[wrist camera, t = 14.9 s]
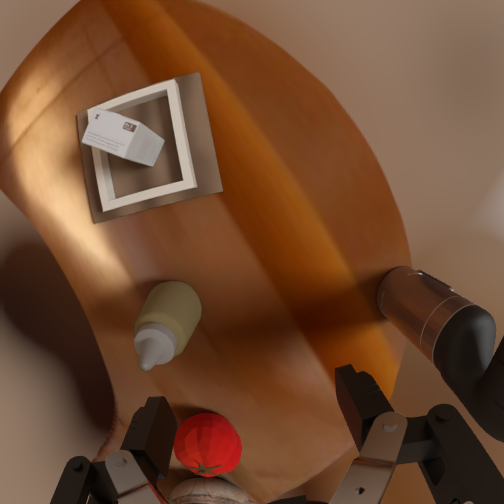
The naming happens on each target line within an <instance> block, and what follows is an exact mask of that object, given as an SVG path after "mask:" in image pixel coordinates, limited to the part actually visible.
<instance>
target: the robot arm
mask: <svg viewBox="0 0 504 504" xmlns="http://www.w3.org/2000/svg"><path fill="white" fill-rule="evenodd" d="M376 301H377V306H378V309H379V310H380V312H381V313H382V314H383V315H384V316H385V317H386V318H387V319H388V320H389V321H390V322H391V323H392V324H393V325H394V326H395V327H396V328H397V329H398V330H399V331H400V332H401V333H402V334H403V335H404V336H405V337H406V338H407V339H409V341H410V342H411V343H412V344H413V345H414V346H415V347H416V348H417V349H418V350H419V351H420V352H421V353H422V354H423V355H424V356H425V357H426V358H427V359H428V360H429V361H430V362H431V363H432V364H433V365H434V366H435V367H436V368H437V369H438V370H439V371H440V373H441V376H442V378H443V380H444V381H445V382H446V383H447V385H448V386H449V387H450V389H451V390H452V391H453V392H454V393H455V395H456V396H457V397H458V399H459V400H460V401H461V402H462V404H463V405H464V406H465V408H466V409H467V410H468V412H469V413H470V415H471V416H472V417H473V418H474V419H475V421H476V422H477V423H478V424H479V426H480V427H482V429H483V430H484V431H485V432H486V433H488V434H489V435H490V436H492V437H493V438H495V439H496V440H498V441H501V442H504V336H503V338H502V340H501V342H500V344H499V346H498V348H497V350H496V352H495V354H494V356H493V350H494V344H495V338H496V325H495V321H494V319H493V317H492V316H491V314H490V313H488V312H487V311H486V310H484V309H482V308H481V307H479V306H478V305H476V304H474V303H473V302H471V301H469V300H468V299H466V298H464V297H462V296H461V295H459V294H457V293H455V292H454V291H453V288H452V287H451V286H449V285H447V284H446V283H444V282H442V281H440V280H438V279H437V278H435V277H433V276H431V275H429V274H427V273H425V272H423V271H422V270H418V271H416V270H414V269H412V268H410V267H398V268H396V269H394V270H392V271H390V272H389V273H388V274H387V275H386V276H385V277H384V278H383V280H382V281H381V283H380V285H379V288H378V291H377V297H376ZM335 384H336V396H337V400H338V404H339V406H340V408H341V411H342V413H343V415H344V418H345V420H346V422H347V425H348V427H349V430H350V432H351V434H352V437H353V439H354V441H355V444H356V446H357V448H358V451H359V453H360V454H359V456H358V457H357V459H354V460H353V461H352V463H351V465H350V467H349V469H348V471H347V473H346V474H345V476H344V478H343V480H342V482H341V484H340V485H339V487H338V489H337V491H336V492H335V494H334V496H333V498H332V499H331V501H330V502H329V503H326V502H321V501H307V500H306V495H302V496H297V497H292V498H286V499H280V500H277V501H274V502H271V503H268V504H381V502H382V500H383V497H384V495H385V493H386V490H387V488H388V485H389V483H390V480H391V478H392V475H393V473H394V470H395V468H396V465H398V464H405V463H412V462H418V465H419V467H420V469H421V471H422V473H423V475H424V478H425V479H426V482H427V484H428V486H429V489H430V491H431V493H432V495H433V498H434V500H435V502H436V504H504V478H503V477H502V475H501V473H500V472H499V470H498V469H497V467H496V466H495V464H494V462H493V461H492V460H491V458H490V456H489V455H488V453H487V452H486V450H485V449H484V447H483V446H482V444H481V443H480V441H479V440H478V439H477V437H476V436H475V434H474V433H473V431H472V430H471V429H470V427H469V426H468V424H467V423H466V421H465V420H464V419H463V417H462V416H461V415H460V413H459V412H458V410H457V409H456V408H455V407H454V406H452V405H449V404H439V405H436V406H434V407H433V408H432V409H430V410H429V412H428V414H427V415H426V416H420V417H412V418H408V417H405V416H404V415H402V414H401V413H398V412H395V411H394V410H393V408H392V407H391V405H390V404H389V402H388V400H387V399H386V397H385V396H384V394H383V392H382V391H381V390H380V388H379V386H378V385H377V383H376V381H375V380H374V378H373V377H372V376H371V375H370V374H368V373H366V372H365V371H362V372H359V373H356V371H355V370H354V368H353V366H352V365H351V364H348V365H345V366H341V367H338V368H335ZM176 431H177V421H176V418H175V416H174V414H173V412H172V410H171V408H170V406H169V404H168V402H167V400H166V398H165V397H164V396H157V397H148V399H147V401H146V404H145V406H144V407H140V408H139V409H138V410H137V412H136V413H135V414H134V416H133V418H132V421H131V423H130V425H129V429H128V430H127V433H126V435H125V438H124V440H123V443H122V446H121V448H120V450H117V451H114V452H112V453H111V454H110V455H109V456H108V457H107V458H106V461H101V462H94V463H91V462H90V461H89V460H88V459H87V458H86V457H84V456H76V457H73V458H72V459H70V460H69V461H68V462H67V464H66V466H65V468H64V471H63V473H62V475H61V478H60V480H59V483H58V485H57V488H56V490H55V493H54V495H53V497H52V500H51V502H50V504H86V502H87V498H88V495H90V497H89V500H88V503H87V504H118V503H119V504H170V503H169V501H168V500H167V499H166V497H165V496H164V495H163V493H162V492H161V490H160V489H159V487H158V486H157V485H156V483H157V479H165V480H166V477H167V473H168V468H169V463H170V459H171V454H172V449H173V445H174V440H175V436H176Z"/></svg>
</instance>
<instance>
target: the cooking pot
mask: <svg viewBox="0 0 504 504" xmlns="http://www.w3.org/2000/svg"><path fill="white" fill-rule="evenodd" d="M167 500H168V501H169V503H170V504H258V503H255V502H253V501H250V500H249V498H248V496H247V495H246V493H245V492H244V491H243V490H242V489H241V488H240V487H238V486H237V485H235V484H233V483H231V482H228V481H225V480H222V479H218V478H214V477H200V478H192V479H188V480H185V481H183V482H181V483H179V484H178V485H176V486H175V487H174V488H173V490H172V492H171V494H170V498H167Z"/></svg>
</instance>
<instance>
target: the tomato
mask: <svg viewBox="0 0 504 504" xmlns="http://www.w3.org/2000/svg"><path fill="white" fill-rule="evenodd" d="M173 447H174V452H175V455H176V458H177V459H178V460H179V461H180V462H181V463H182V464H183V465H182V466H185V467H186V468H188V469H189V470H191V471H192V472H194V473H195V475H201V476H205V477H213V476H218V477H221V476H219V474H220V473H222V472H230V471H232V470H233V469H234V468H235V467H236V466H237V464H238V463H239V461H240V456H241V452H242V445H241V440H240V437H239V435H238V434H237V432H236V430H235V429H234V427H233V425H232V424H231V423H230V422H229V421H228V419H226V418H225V417H224V416H221V415H218V414H214V413H200V414H197V415H194V416H191V417H189V418H188V419H186V420H185V421H184V422H183V423H182V424H181V425H180V426H179V428H178V429H177V431H176V436H175V440H174V445H173Z"/></svg>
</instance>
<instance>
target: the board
mask: <svg viewBox="0 0 504 504" xmlns="http://www.w3.org/2000/svg"><path fill="white" fill-rule="evenodd" d="M173 79H174V80H175V81H176V83H177V84H178V88H179V94H180V100H181V106H182V111H183V117H184V122H185V128H186V133H187V138H188V144H189V149H190V154H191V159H192V164H193V169H194V174H195V179H196V184H197V187H196V188H192V189H188V190H184V191H180V192H176V193H172V194H168V195H164V196H160V197H156V198H152V199H148V200H145V201H141V202H137V203H134V204H130V205H127V206H123V207H120V208H116V209H113V210H109V211H105V212H103V208H102V203H101V199H100V194H99V189H98V183H97V178H96V172H95V166H94V160H93V153H92V146H90V145H87V144H84V143H82V139H83V136H84V133H85V131H86V129H87V126H88V124H89V121H88V111H87V110H88V109H90V108H93V107H95V106H97V105H100V104H102V103H105V102H107V101H110V100H112V99H115V98H118V97H120V96H123V95H126V94H129V93H131V92H134V91H137V90H140V89H143V88H146V87H149V86H153V85H156V84H159V83H163V82H166V81H169V80H173ZM173 79H169V80H166V81H162V82H159V83H156V84H152V85H149V86H146V87H143V88H140V89H137V90H134V91H131V92H128V93H126V94H123V95H120V96H118V97H115V98H112V99H110V100H107V101H105V102H102V103H100V104H97V105H95V106H93V107H90V108H88V109H86V110H83V111H81V112H79V113H77V120H78V130H79V139H80V147H81V154H82V161H83V168H84V174H85V180H86V185H87V191H88V196H89V201H90V206H91V210H92V215H93V219H94V224H96V223H100V222H103V221H106V220H110V219H113V218H117V217H121V216H124V215H128V214H131V213H135V212H139V211H143V210H146V209H150V208H154V207H158V206H162V205H166V204H170V203H174V202H178V201H182V200H187V199H191V198H195V197H200V196H204V195H208V194H213V193H218V192H222V191H223V187H222V183H221V178H220V173H219V168H218V163H217V158H216V153H215V148H214V143H213V138H212V133H211V128H210V123H209V118H208V113H207V108H206V102H205V97H204V92H203V87H202V81H201V76H200V72H196V73H192V74H188V75H184V76H180V77H176V78H173ZM115 113H117V114H120V115H122V116H124V117H127V118H130V119H133V120H136V121H138V122H140V123H142V124H143V125H145V126H146V127H147V128H149V129H150V130H152V131H153V132H154V133H156V134H157V135H158V136H160V137H161V138H162V139H164V140H165V142H164V144H163V146H162V149H161V151H160V153H159V155H158V157H157V159H156V161H155V164H154V166H153V167H151V166H147V165H144V164H140V163H137V162H133V161H130V160H128V159H124V158H122V157H119V156H116V155H113V154H111V153H108V152H107V155H108V161H109V167H110V173H111V178H112V184H113V189H114V194H115V199H117V198H121V197H124V196H127V195H131V194H134V193H138V192H141V191H145V190H149V189H152V188H156V187H160V186H163V185H167V184H171V183H175V182H179V181H183V176H182V171H181V166H180V161H179V156H178V150H177V145H176V140H175V134H174V129H173V123H172V117H171V111H170V105H169V99H168V95H167V96H164V97H160V98H157V99H153V100H150V101H147V102H144V103H141V104H138V105H135V106H132V107H129V108H126V109H123V110H121V111H118V112H115Z"/></svg>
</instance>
